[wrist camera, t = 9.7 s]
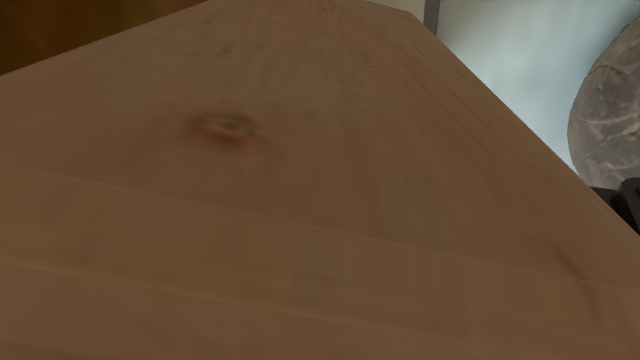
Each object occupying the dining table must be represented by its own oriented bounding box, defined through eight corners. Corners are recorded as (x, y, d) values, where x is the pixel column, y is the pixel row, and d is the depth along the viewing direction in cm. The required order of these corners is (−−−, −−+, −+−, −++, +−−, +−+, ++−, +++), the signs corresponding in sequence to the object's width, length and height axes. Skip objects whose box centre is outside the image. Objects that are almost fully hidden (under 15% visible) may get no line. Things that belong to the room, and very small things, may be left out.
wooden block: (264, -29, 17) (-588, 189, 1) (422, 13, 18) (938, 447, 2) (254, 118, 23) (69, 452, 8) (371, 145, 24) (414, 497, 9)
